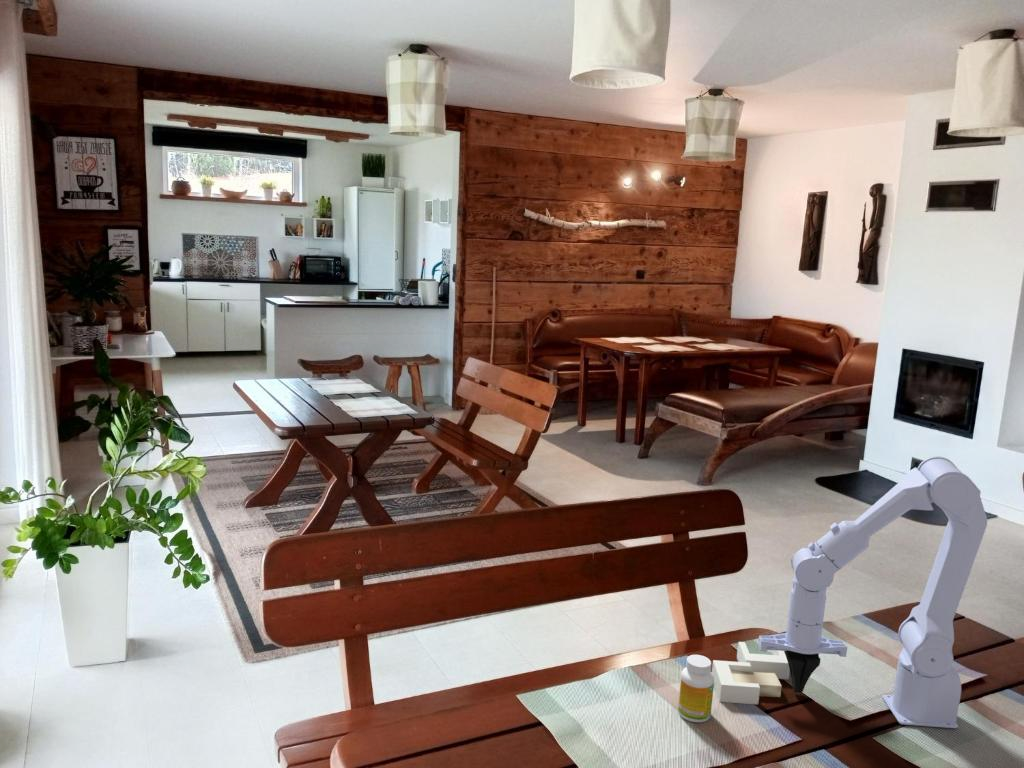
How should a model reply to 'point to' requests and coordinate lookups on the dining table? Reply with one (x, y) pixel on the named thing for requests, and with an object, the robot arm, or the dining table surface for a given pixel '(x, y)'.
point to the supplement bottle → (696, 689)
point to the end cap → (734, 683)
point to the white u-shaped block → (765, 661)
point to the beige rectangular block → (760, 682)
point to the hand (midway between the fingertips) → (796, 689)
